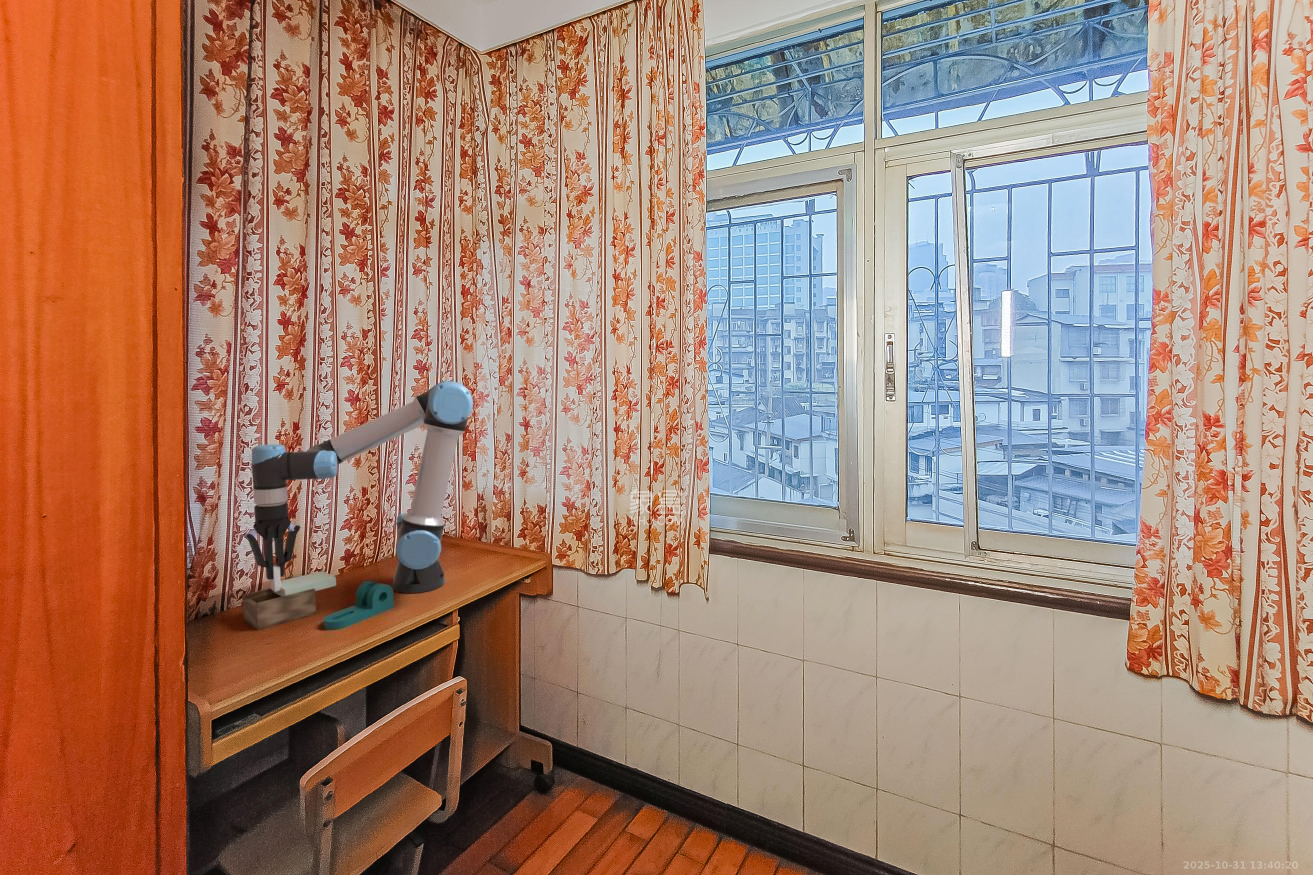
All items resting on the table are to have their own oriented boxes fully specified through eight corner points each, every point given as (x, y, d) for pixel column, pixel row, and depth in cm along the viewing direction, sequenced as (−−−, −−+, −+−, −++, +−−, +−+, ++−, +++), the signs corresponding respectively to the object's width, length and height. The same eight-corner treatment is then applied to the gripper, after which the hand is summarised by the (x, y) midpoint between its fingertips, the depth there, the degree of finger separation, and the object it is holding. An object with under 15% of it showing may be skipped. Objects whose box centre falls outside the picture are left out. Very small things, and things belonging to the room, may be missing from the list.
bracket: (377, 604, 172) (376, 577, 171) (393, 608, 169) (392, 581, 168) (318, 627, 156) (316, 598, 155) (335, 632, 153) (333, 602, 152)
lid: (322, 579, 174) (322, 570, 174) (336, 585, 169) (335, 576, 169) (273, 591, 164) (272, 582, 164) (285, 598, 159) (285, 589, 159)
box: (300, 604, 170) (299, 580, 170) (316, 613, 164) (314, 588, 164) (243, 620, 159) (242, 594, 159) (258, 630, 153) (256, 603, 153)
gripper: (292, 497, 165) (296, 580, 168) (237, 505, 155) (242, 593, 158) (303, 501, 161) (308, 586, 163) (248, 509, 151) (253, 600, 153)
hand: (276, 589), depth 160 cm, fingers closed
